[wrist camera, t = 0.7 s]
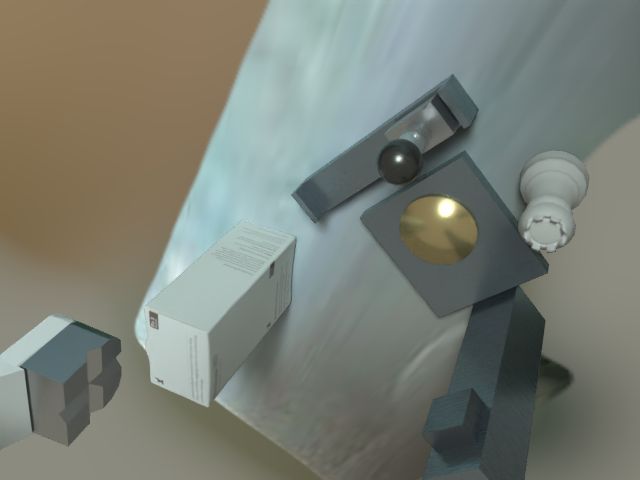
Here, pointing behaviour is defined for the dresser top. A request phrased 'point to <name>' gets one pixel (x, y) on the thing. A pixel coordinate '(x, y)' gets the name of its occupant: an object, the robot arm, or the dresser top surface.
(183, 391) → the skincare box
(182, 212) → the dresser top surface
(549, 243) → the rook chess piece
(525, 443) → the press
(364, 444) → the dresser top surface
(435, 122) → the lever
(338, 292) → the dresser top surface
